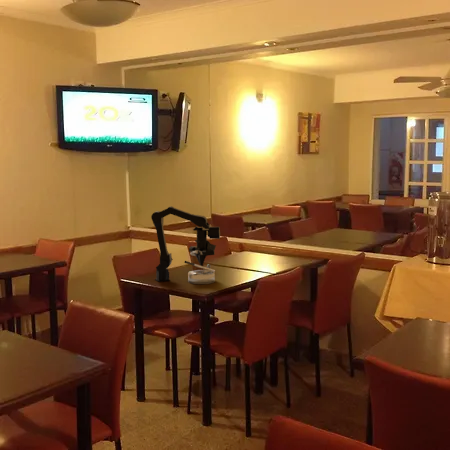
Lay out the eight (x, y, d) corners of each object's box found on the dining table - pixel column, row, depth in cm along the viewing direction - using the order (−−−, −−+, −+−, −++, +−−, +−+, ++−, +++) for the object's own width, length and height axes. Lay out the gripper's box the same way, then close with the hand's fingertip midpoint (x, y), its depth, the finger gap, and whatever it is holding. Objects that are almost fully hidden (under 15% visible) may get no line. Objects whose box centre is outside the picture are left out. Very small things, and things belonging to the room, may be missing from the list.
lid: (193, 265, 316) (195, 260, 316) (179, 261, 329) (181, 256, 329) (219, 273, 326) (221, 268, 327) (205, 268, 339) (207, 264, 339)
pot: (196, 285, 318) (196, 276, 318) (182, 280, 331) (182, 271, 331) (220, 282, 327) (220, 273, 326) (205, 277, 340) (205, 269, 339)
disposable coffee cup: (187, 271, 358) (187, 251, 357) (195, 268, 367) (195, 249, 365) (200, 272, 354) (200, 253, 352) (208, 269, 362) (208, 250, 361)
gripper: (222, 239, 323) (222, 267, 325) (205, 235, 339) (205, 262, 340) (205, 240, 317) (205, 268, 319) (188, 236, 332) (188, 263, 334)
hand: (201, 265), depth 328 cm, fingers closed, pressing on lid
